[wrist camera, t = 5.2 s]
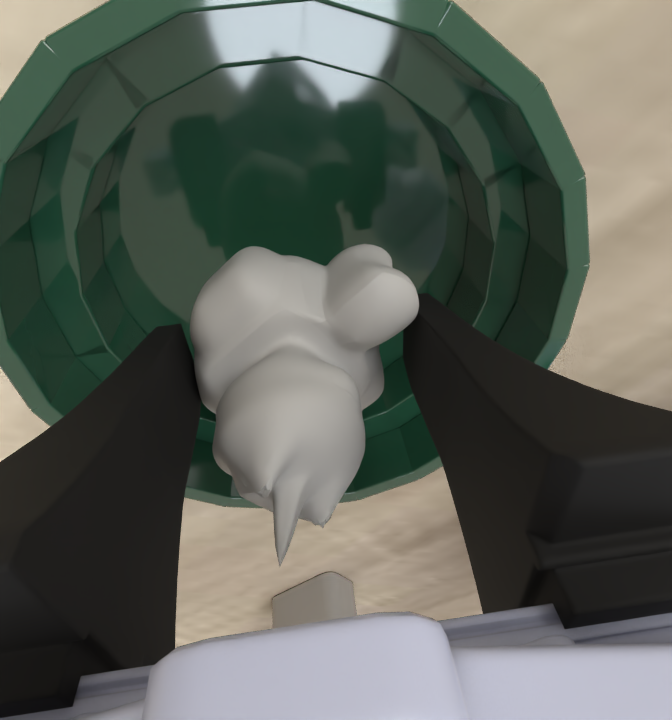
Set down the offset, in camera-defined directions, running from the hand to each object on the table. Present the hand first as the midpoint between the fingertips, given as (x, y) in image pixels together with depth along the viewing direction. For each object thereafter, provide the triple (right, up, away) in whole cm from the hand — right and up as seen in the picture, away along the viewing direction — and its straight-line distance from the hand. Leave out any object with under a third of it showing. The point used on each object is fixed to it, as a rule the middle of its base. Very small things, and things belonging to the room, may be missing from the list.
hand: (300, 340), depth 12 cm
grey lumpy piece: (0, +2, +2) cm, 2 cm away
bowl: (-1, +3, +4) cm, 5 cm away
